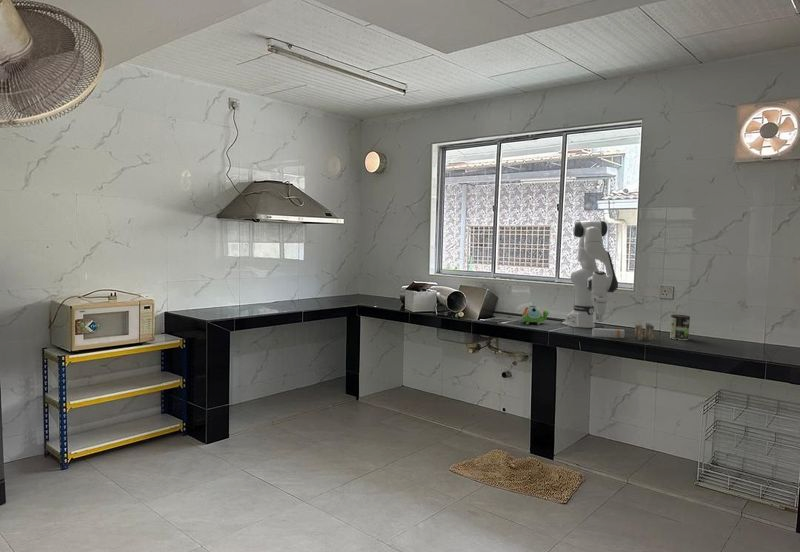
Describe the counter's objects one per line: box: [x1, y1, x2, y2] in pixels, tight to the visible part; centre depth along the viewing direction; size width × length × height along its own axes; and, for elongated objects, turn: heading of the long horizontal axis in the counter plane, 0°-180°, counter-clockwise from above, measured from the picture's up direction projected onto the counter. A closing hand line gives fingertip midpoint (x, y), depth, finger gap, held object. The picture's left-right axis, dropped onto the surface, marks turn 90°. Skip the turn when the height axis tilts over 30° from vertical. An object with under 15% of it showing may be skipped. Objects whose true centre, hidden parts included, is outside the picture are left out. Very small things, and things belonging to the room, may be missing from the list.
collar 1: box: [634, 322, 644, 341], centre depth 334 cm, size 2×11×8 cm, turn 169°
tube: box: [591, 327, 626, 339], centre depth 338 cm, size 18×5×5 cm, turn 80°
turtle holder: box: [521, 305, 550, 325], centre depth 382 cm, size 12×18×12 cm
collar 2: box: [644, 322, 655, 341], centre depth 333 cm, size 2×11×8 cm, turn 169°
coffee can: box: [669, 314, 691, 341], centre depth 335 cm, size 10×10×14 cm
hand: (598, 320), depth 338 cm, fingers open, 8 cm apart
